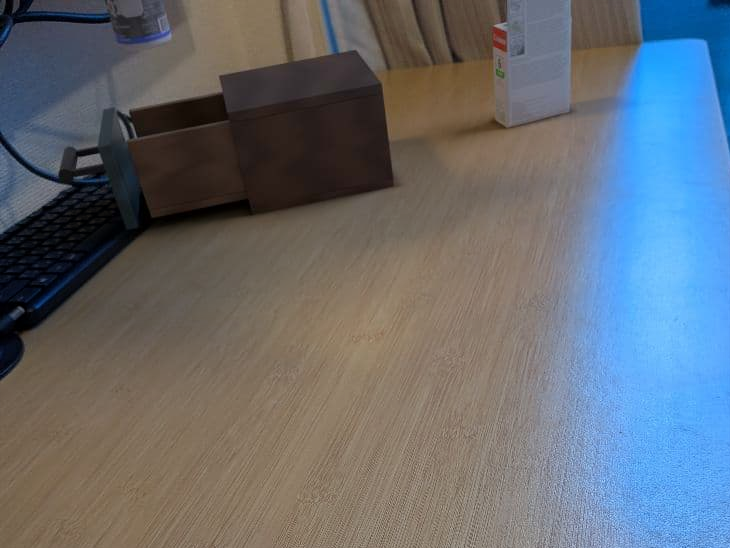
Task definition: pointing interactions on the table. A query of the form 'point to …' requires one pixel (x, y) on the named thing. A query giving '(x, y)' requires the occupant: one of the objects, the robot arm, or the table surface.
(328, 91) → the cabinet
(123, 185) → the drawer
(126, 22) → the pill bottle
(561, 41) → the ink box
